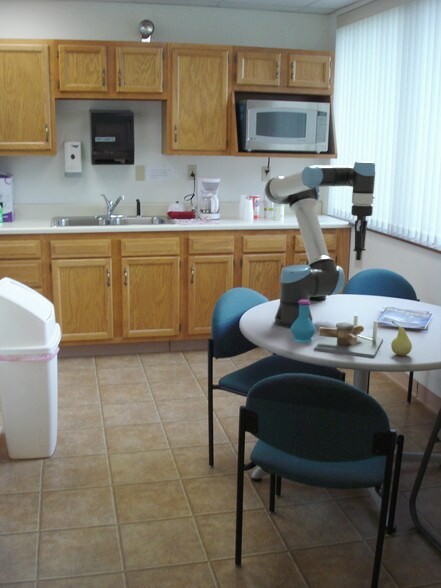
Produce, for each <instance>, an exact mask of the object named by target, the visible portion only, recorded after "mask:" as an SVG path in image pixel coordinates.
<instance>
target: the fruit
mask: <svg viewBox="0 0 441 588" xmlns="http://www.w3.org/2000/svg"><path fill="white" fill-rule="evenodd" d="M391 324H393V325H395V326H396V327H397V328H398V331H397V335H396V337H395V338H393V339H392V341H391V343H390V345H391V350H392V352H393V354H395V355H397V356H401V357H403V356H408V355H409V354H410V353H411V351H412V349H413V348H412V347H413V345H412V342H411V340H410V338H409V336H408V334H407V332H406V330H405V328H404V327H402V326H400V325H398V324H397V323H396V322H394V321H393V320H392V321H391Z"/></svg>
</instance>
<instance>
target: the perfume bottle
mask: <svg viewBox="0 0 441 588" xmlns="http://www.w3.org/2000/svg"><path fill="white" fill-rule="evenodd" d="M311 302H312V301H311V300H300V301H298V303H299V317H298V318H297V320H296V321H295V322H294V323H293V324H292V326H291V328H290V330H291V334H292V337H294V338H293V340H294V341H295V342H299V343H309V341H310V342H312V338H313V337H314V334H315V332H316V328H317V327H316V326H315V324H314V323H313V321H312V322H311V320H310V319H309V317H308V316H309V308H310V304H312V303H311Z"/></svg>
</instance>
